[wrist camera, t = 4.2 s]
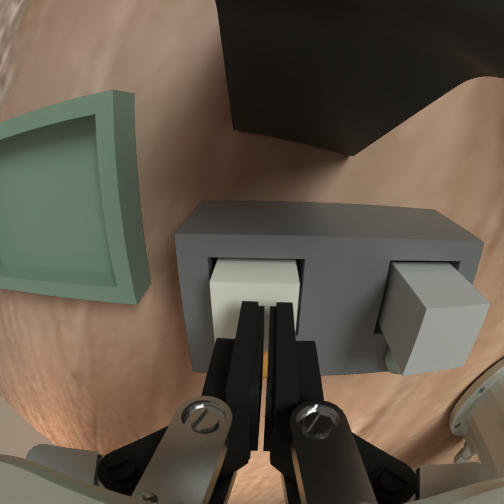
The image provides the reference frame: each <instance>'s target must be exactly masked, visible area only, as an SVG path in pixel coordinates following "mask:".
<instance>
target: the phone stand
mask: <svg viewBox="0 0 504 504" xmlns="http://www.w3.org/2000/svg"><path fill="white" fill-rule="evenodd" d="M215 2H216V6H217V11H218V19H219V26H220V34H221V41H222V49H223V56H224V64H225V71H226V79H227V86H228V93H229V101H230V108H231V116H232V123H233V129H234V130H240V131H245V132H251V133H256V134H261V135H267V136H272V137H276V138H281V139H286V140H290V141H295V142H299V143H304V144H308V145H312V146H316V147H320V148H324V149H328V150H332V151H336V152H339V153H343V154H347V155H350V156H354V155H356V154H357V153H359V152H360V151H362V150H363V149H365V148H366V147H367V146H369V145H370V144H372V143H373V142H375V141H376V140H378V139H379V138H381V137H382V136H383V135H385V134H386V133H388V132H389V131H391V130H392V129H394V128H395V127H397V126H398V125H400V124H401V123H403V122H404V121H406V120H407V119H408V118H410V117H411V116H413V115H414V114H416V113H417V112H419V111H420V110H422V109H423V108H425V107H426V106H428V105H429V104H431V103H432V102H434V101H435V100H437V99H438V98H440V97H441V96H443V95H444V94H446V93H447V92H449V91H450V90H452V89H453V88H455V87H456V86H458V85H460V84H461V83H463V82H465V81H467V80H470V79H473V78H477V77H483V76H492V77H498V78H504V0H215Z"/></svg>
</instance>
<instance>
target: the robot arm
mask: <svg viewBox="0 0 504 504" xmlns="http://www.w3.org/2000/svg"><path fill="white" fill-rule="evenodd" d="M264 313H265V306H259V303H258V301H242V304H241V309H240V315H239V320H238V326H237V331H236V337H235V339H230V338H217V339H216V342H215V345H214V349H213V353H212V357H211V361H210V365H209V368H208V372H207V376H206V380H205V384H204V388H203V392H202V396H199V397H194V398H191V399H189V400H187V401H185V402H184V403H182V404H181V406H180V407H179V408H178V409H177V411H176V413H175V415H174V417H173V419H172V421H171V422H170V424H169V426H167V427H165V428H163V429H161V430H159V431H157V432H155V433H152V434H150V435H148V436H146V437H144V438H142V439H139V440H137V441H135V442H133V443H131V444H128V445H126V446H124V447H121V448H119V449H117V450H114V451H112V452H110V453H109V454H107V455H100V454H99V452H98V451H88V450H80V449H72V448H65V447H59V446H52V445H47V444H39V445H37V446H34V447H33V448H32V449H31V450H29V452H28V454H27V456H26V459H24V458H20V457H15V456H9V455H0V504H227V502H228V499H229V496H230V493H231V490H232V487H233V484H234V481H235V478H236V475H237V470H238V469H240V468H241V467H243V466H244V465H246V464H247V463H248V460H249V459H250V453H251V450H252V451H257V450H258V437H259V423H260V408H261V393H262V377H263V351H264ZM449 426H450V429H451V432H452V433H453V434H454V435H457V436H464V437H465V440H466V441H465V443H464V447H463V448H462V449H461V450H460V451H459V452H458V453H457V454H456V456H455V457H454V463H455V464H440V465H420V466H419V467H418V468H411V467H409V466H408V465H407V464H405V463H403V462H401V461H400V460H398V459H396V458H394V457H392V456H391V455H389V454H387V453H386V452H384V451H382V450H380V449H379V448H377V447H375V446H374V445H372V444H370V443H369V442H367V441H365V440H364V439H362V438H360V437H359V436H357V435H355V434H354V433H352V431H351V429H350V426H349V424H348V421H347V418H346V416H345V414H344V413H343V411H342V410H341V409H340V408H339V407H338V406H337V405H335V404H332V403H330V402H327V401H324V397H323V390H322V382H321V375H320V368H319V362H318V355H317V349H316V343H315V341H296V336H295V324H294V312H293V303H292V302H276V306H270V317H269V343H268V367H267V389H266V410H265V429H264V447H263V451H270V464H271V465H272V466H274V467H275V468H276V469H277V470H278V471H280V472H281V481H282V487H283V492H284V498H285V504H504V358H503V359H502V360H500V361H499V362H498V363H496V364H495V365H494V366H492V367H491V368H490V369H489V370H487V371H486V372H485V373H484V374H483V375H482V376H481V377H480V378H478V379H477V380H476V381H475V382H474V383H473V384H472V385H471V386H470V387H469V388H468V390H467V391H466V392H465V393H464V394H463V395H462V397H461V398H460V399H459V401H458V402H457V403H456V405H455V406H454V408H453V410H452V412H451V414H450V417H449ZM476 454H477V455H478V458H479V460H480V463H481V464H480V463H478V462H468V463H466V462H467V461H468V460H469V459H470V458H471V457H472V456H473V455H476Z"/></svg>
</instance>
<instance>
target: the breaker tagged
mask: <svg viewBox="0 0 504 504" xmlns="http://www.w3.org/2000/svg"><path fill="white" fill-rule="evenodd" d="M299 286H300V283H299V277H298V271H297V266H296V260H295V259H275V258H225V257H218V260H217V263H216V265H215V268H214V271H213V274H212V277H211V279H210V293H211V306H212V318H213V329H214V340H215V342H216V339H217V338H230V339H235V337H236V331H237V326H238V320H239V315H240V309H241V304H242V301H258V303H259V306H265V313H264V351H268V343H269V317H270V306H276V302H292V303H293V312H294V324H295V331H296V320H297V309H298V298H299Z"/></svg>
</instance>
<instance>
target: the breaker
mask: <svg viewBox="0 0 504 504" xmlns="http://www.w3.org/2000/svg"><path fill="white" fill-rule="evenodd" d="M489 307H490V303H489V302H488V301H487V300H486V299H485V297H484V296H483V295H482V294H481V293H480V292H479V291H478V290H477V289H476V288H475V287H474V286H473V285H472V284H471V283H470V282H469V281H468V280H467V279H466V278H465V277H464V276H462V275H461V274H460V273H459V272H458V271H457V270H456V269H455V268H454V267H453V266H452V265H451V264H450V263H449V262H391V266H390V271H389V276H388V281H387V286H386V290H385V295H384V299H383V303H382V307H381V311H380V315H379V319H378V324H379V326H380V328H381V330H382V332H383V334H384V336H385V339H386V341H387V343H388V345H389V347H390V350H391V352H392V354H393V356H394V359H395V361H396V363H397V366H398V368H399V370H400V373H401V375H402V376H406V375H414V374H421V373H428V372H434V371H440V370H446V369H452V368H457V367H462V366H464V364H465V362H466V360H467V358H468V355H469V353H470V351H471V349H472V347H473V345H474V343H475V340H476V338H477V336H478V334H479V331H480V329H481V327H482V324H483V322H484V319H485V317H486V314H487V312H488V309H489Z"/></svg>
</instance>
